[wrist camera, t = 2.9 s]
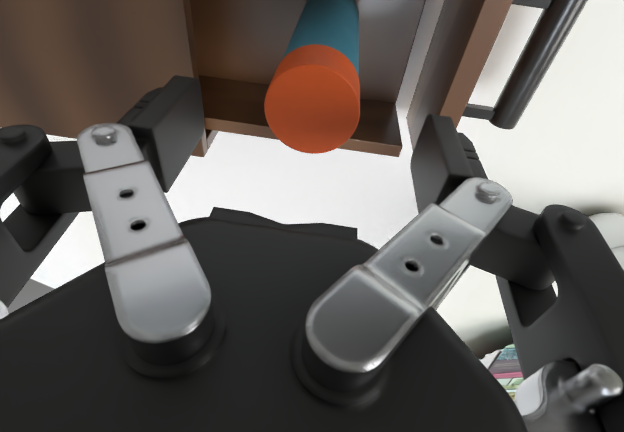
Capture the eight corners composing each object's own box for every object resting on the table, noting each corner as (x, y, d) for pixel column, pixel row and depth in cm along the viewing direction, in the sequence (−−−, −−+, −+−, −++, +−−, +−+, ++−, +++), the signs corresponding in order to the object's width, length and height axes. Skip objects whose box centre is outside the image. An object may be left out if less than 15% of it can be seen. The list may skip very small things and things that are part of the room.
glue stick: (304, -20, 20) (264, 57, 12) (365, -11, 20) (369, 72, 12) (299, 44, 23) (263, 147, 14) (353, 52, 23) (350, 159, 14)
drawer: (584, -87, 18) (668, -74, 13) (477, 128, 27) (504, 184, 22) (159, -151, 18) (84, -162, 13) (192, 86, 26) (154, 133, 22)
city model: (602, 378, 58) (628, 418, 53) (456, 401, 63) (468, 439, 58) (633, 290, 43) (672, 336, 38) (437, 330, 48) (451, 374, 43)
